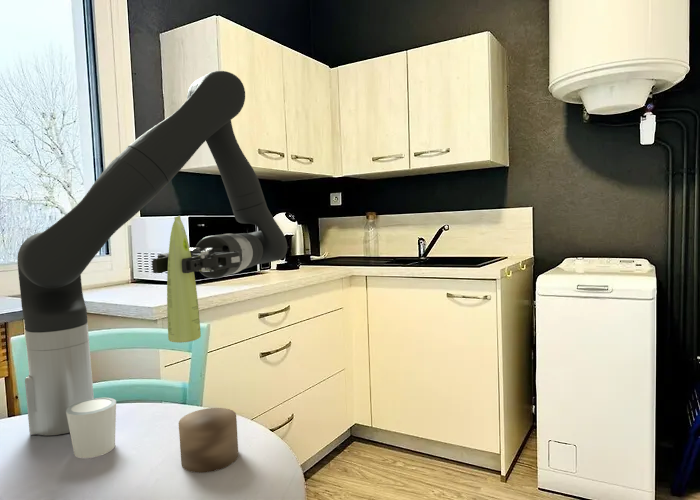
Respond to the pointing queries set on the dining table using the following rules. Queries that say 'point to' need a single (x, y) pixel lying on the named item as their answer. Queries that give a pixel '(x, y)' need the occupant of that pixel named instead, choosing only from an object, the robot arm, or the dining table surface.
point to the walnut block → (208, 440)
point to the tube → (181, 290)
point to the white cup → (92, 426)
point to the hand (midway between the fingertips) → (169, 266)
